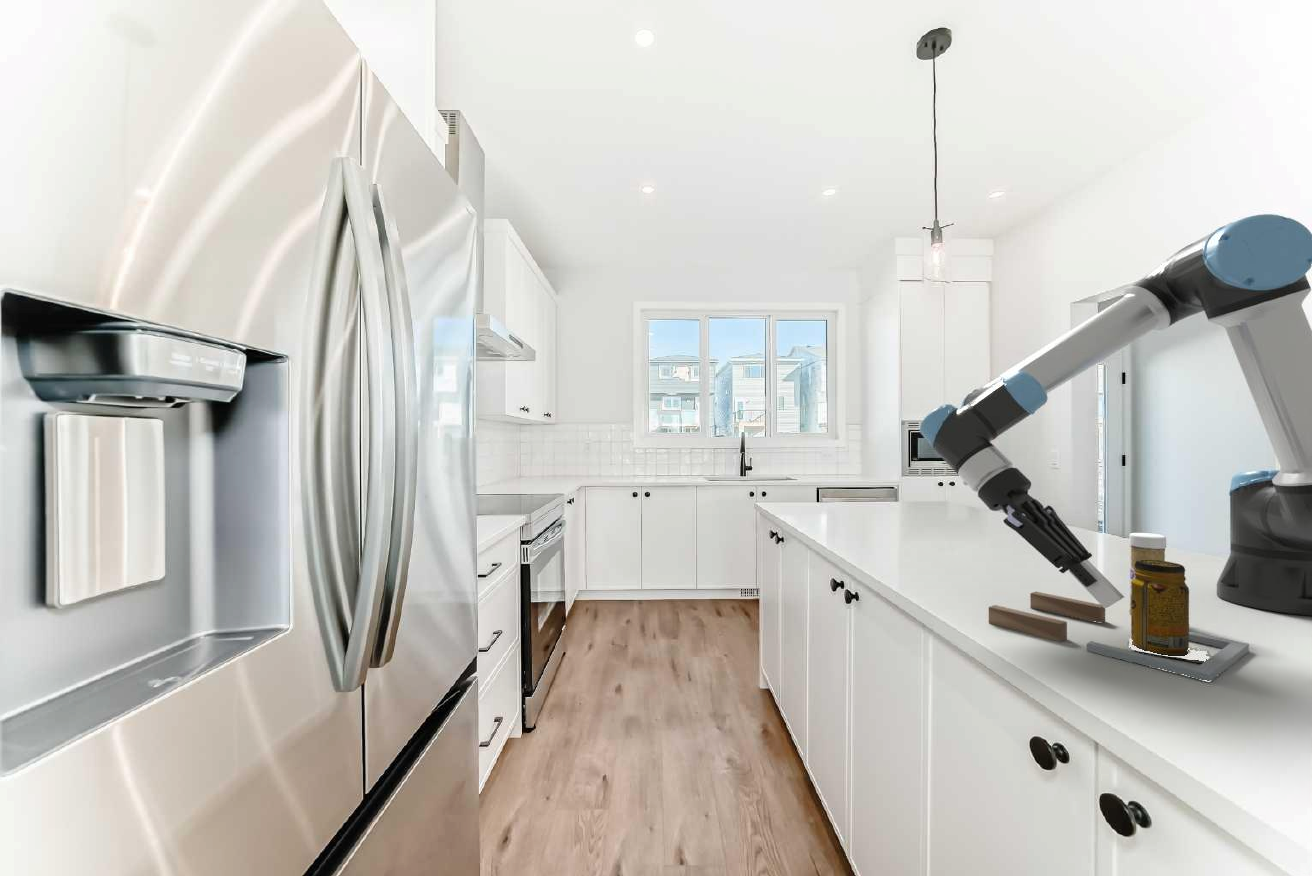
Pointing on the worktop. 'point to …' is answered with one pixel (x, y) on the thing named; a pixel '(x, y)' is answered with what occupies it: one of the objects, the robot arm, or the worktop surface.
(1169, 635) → the condiment
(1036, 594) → the wooden blocks
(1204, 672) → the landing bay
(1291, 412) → the robot arm
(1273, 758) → the worktop surface
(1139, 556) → the toothpick container
